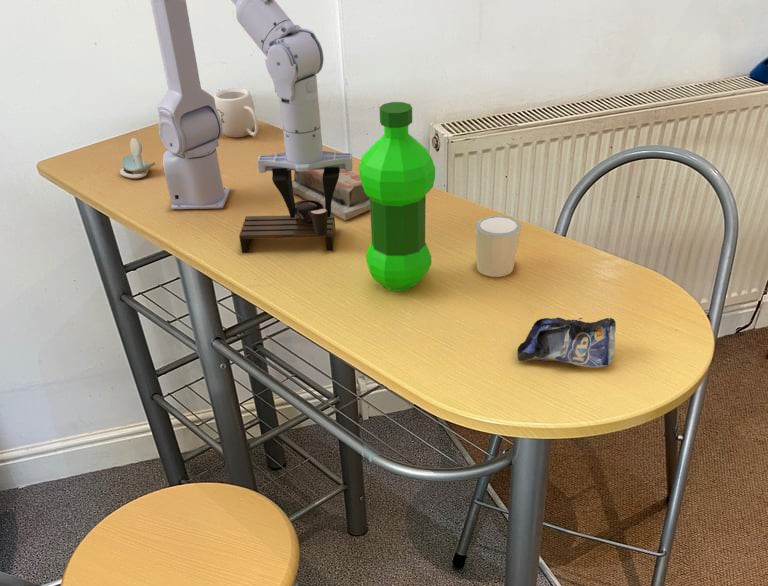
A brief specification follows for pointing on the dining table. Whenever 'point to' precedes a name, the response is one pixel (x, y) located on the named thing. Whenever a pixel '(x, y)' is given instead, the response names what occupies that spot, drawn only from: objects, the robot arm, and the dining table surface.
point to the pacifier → (139, 165)
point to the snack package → (570, 342)
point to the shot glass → (497, 245)
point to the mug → (236, 112)
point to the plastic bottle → (397, 201)
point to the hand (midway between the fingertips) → (310, 214)
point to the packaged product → (345, 197)
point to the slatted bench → (282, 229)
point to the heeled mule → (313, 215)
